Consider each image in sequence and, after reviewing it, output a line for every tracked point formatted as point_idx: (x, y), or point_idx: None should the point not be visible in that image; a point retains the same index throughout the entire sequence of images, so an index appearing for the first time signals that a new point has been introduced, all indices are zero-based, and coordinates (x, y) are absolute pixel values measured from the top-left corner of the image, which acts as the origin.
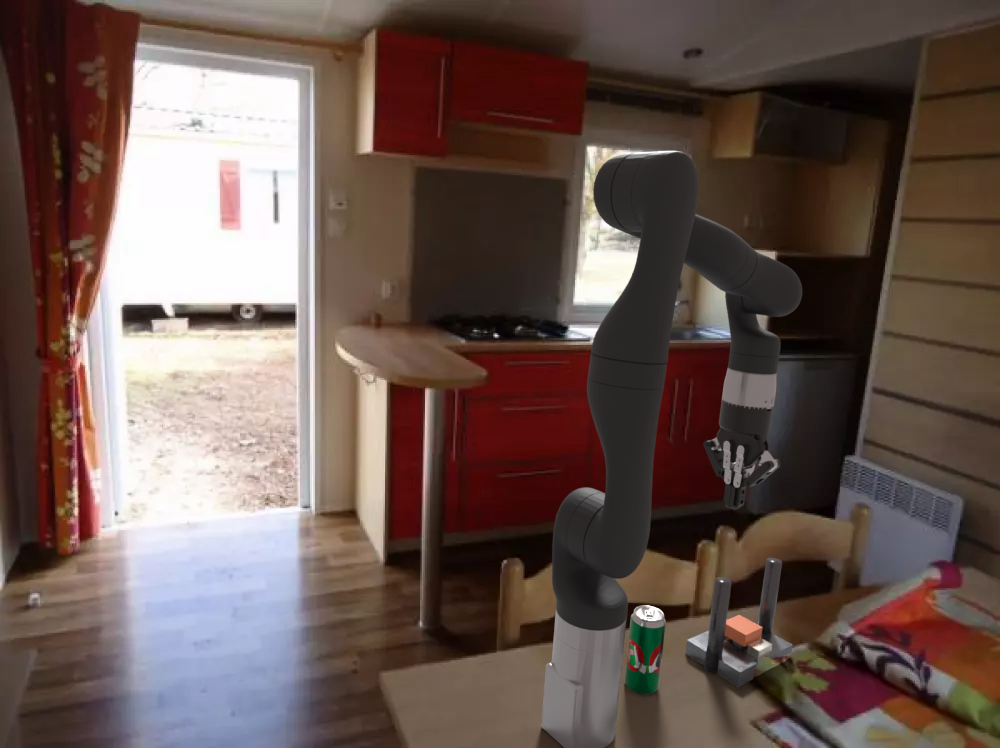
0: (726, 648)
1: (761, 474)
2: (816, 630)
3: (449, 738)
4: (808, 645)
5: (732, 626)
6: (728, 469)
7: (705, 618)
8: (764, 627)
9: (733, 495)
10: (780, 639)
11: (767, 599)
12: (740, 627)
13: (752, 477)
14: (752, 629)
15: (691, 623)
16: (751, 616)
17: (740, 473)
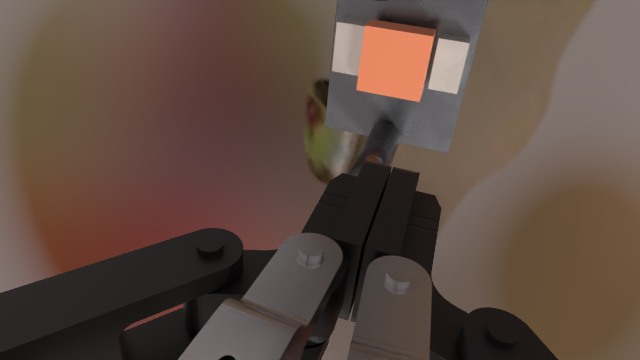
0: (409, 1)
1: (20, 294)
2: None
3: None
4: (333, 178)
5: (405, 37)
6: (374, 346)
7: (527, 131)
8: (378, 128)
9: (352, 202)
10: (348, 127)
11: (365, 156)
12: (389, 48)
13: (134, 281)
14: (366, 62)
15: (546, 87)
16: (451, 203)
17: (231, 300)
